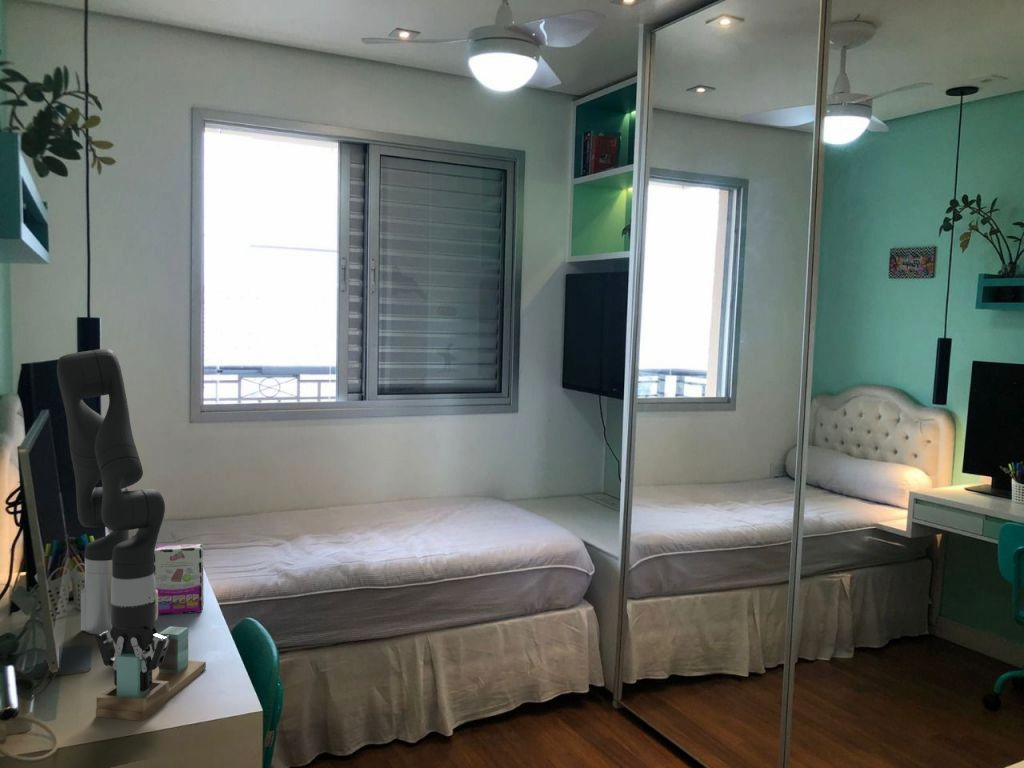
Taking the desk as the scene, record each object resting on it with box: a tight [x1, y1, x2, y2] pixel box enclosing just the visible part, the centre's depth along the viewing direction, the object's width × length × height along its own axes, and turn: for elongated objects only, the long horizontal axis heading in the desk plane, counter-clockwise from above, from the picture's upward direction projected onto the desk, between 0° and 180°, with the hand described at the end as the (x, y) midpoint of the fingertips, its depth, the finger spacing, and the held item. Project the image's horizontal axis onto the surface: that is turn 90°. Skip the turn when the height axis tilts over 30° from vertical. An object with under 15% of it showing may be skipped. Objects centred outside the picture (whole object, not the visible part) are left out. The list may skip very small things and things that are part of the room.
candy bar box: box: [154, 543, 205, 616], centre depth 202 cm, size 11×5×16 cm, turn 105°
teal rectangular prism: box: [117, 651, 150, 698], centre depth 150 cm, size 4×4×8 cm
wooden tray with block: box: [95, 625, 207, 722], centre depth 157 cm, size 9×23×10 cm, turn 173°
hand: (133, 688), depth 150 cm, fingers closed on teal rectangular prism, 4 cm apart
